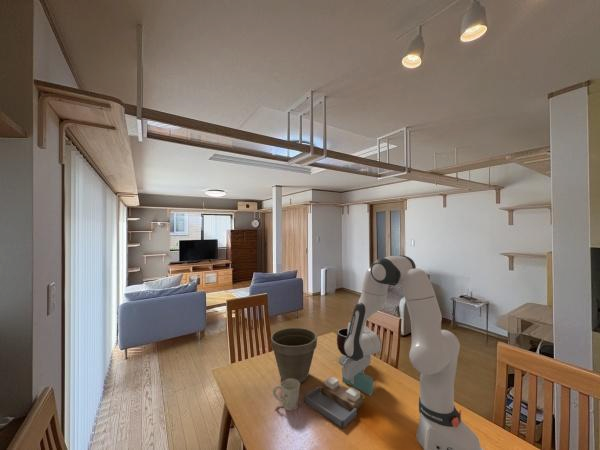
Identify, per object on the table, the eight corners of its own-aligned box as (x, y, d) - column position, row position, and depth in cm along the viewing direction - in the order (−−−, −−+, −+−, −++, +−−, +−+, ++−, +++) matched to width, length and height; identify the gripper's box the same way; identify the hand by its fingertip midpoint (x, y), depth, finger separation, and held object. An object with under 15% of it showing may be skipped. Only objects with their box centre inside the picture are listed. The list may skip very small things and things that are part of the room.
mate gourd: (332, 360, 150) (331, 327, 150) (347, 353, 159) (346, 321, 159) (353, 371, 138) (352, 335, 139) (368, 362, 147) (367, 328, 148)
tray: (356, 416, 106) (356, 408, 106) (342, 429, 99) (342, 421, 99) (318, 392, 121) (318, 386, 121) (304, 402, 114) (304, 395, 114)
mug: (298, 414, 107) (297, 390, 107) (270, 410, 110) (269, 387, 110) (301, 401, 115) (301, 379, 115) (275, 397, 118) (275, 376, 118)
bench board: (363, 404, 113) (363, 396, 113) (353, 413, 107) (353, 405, 107) (331, 386, 126) (331, 379, 126) (321, 394, 120) (321, 386, 120)
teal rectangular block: (373, 392, 121) (373, 378, 121) (370, 395, 119) (369, 380, 119) (345, 378, 132) (345, 365, 132) (342, 381, 130) (342, 367, 130)
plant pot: (295, 359, 153) (294, 323, 153) (327, 375, 135) (326, 335, 135) (261, 376, 135) (261, 336, 135) (293, 398, 117) (292, 351, 118)
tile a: (360, 397, 112) (360, 391, 112) (354, 402, 109) (354, 396, 109) (351, 392, 116) (351, 386, 116) (346, 397, 112) (345, 391, 112)
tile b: (338, 385, 121) (338, 380, 121) (332, 389, 118) (332, 384, 118) (331, 381, 124) (331, 376, 124) (325, 385, 121) (325, 380, 121)
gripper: (349, 362, 116) (350, 392, 116) (372, 347, 130) (373, 374, 130) (338, 357, 121) (339, 386, 120) (362, 343, 135) (362, 369, 135)
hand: (357, 380), depth 125 cm, fingers open, 6 cm apart
